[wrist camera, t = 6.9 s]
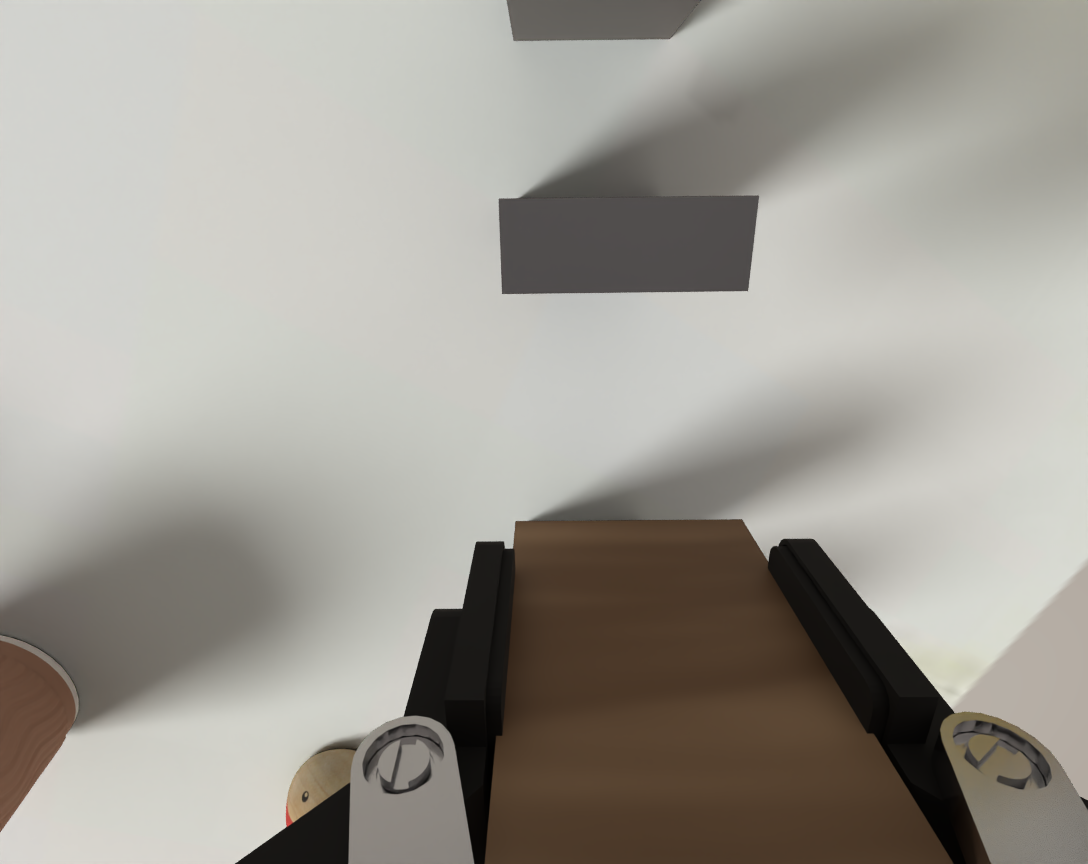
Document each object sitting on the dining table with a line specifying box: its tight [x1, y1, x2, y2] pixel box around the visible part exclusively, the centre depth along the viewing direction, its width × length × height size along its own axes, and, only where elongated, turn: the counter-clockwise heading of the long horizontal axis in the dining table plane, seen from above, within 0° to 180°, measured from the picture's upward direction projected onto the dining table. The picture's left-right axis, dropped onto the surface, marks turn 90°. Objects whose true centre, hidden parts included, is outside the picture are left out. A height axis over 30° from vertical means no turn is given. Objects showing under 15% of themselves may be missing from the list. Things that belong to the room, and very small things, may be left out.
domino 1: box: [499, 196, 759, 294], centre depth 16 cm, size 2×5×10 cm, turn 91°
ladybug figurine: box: [286, 749, 356, 827], centre depth 31 cm, size 7×10×4 cm
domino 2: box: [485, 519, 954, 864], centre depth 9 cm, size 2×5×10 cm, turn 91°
